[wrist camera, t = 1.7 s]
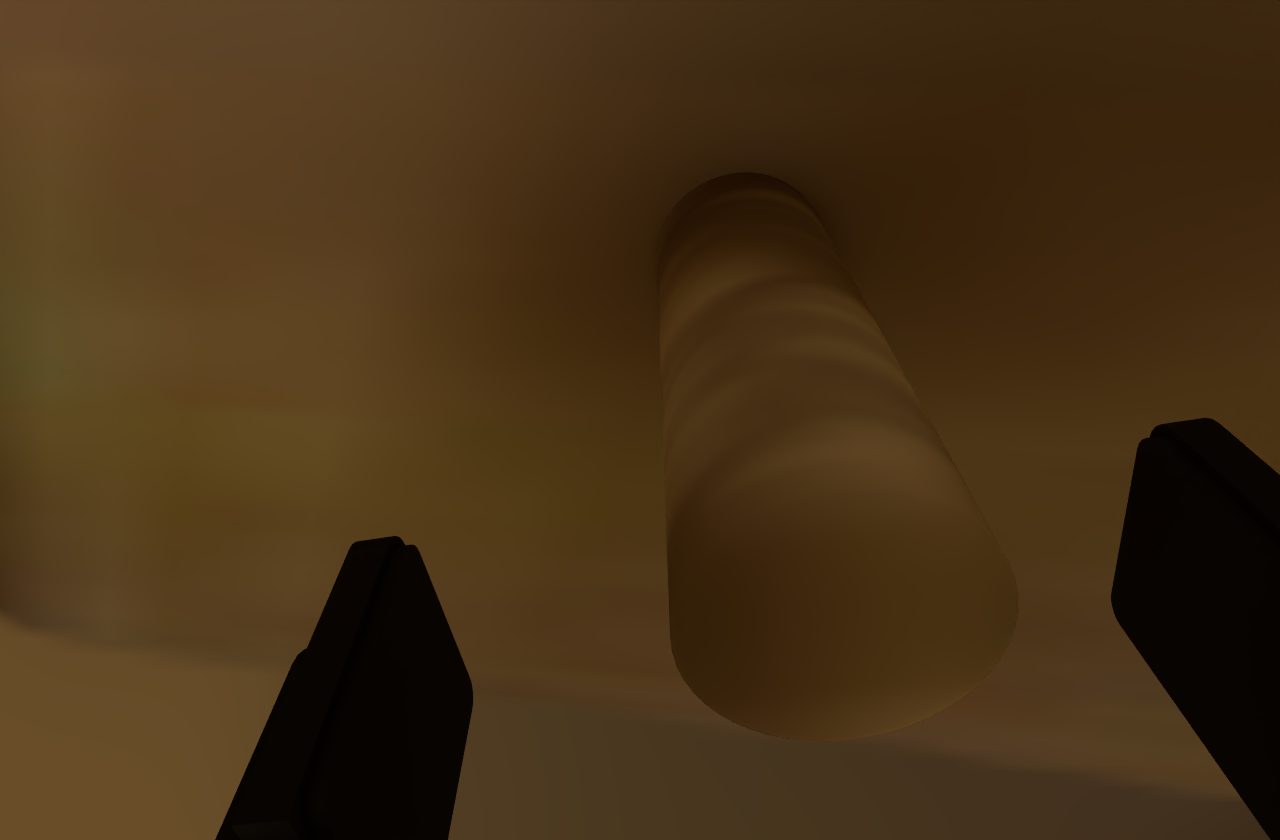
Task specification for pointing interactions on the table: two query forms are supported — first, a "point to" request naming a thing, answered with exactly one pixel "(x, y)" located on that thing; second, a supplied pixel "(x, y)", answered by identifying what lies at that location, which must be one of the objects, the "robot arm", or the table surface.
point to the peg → (808, 487)
